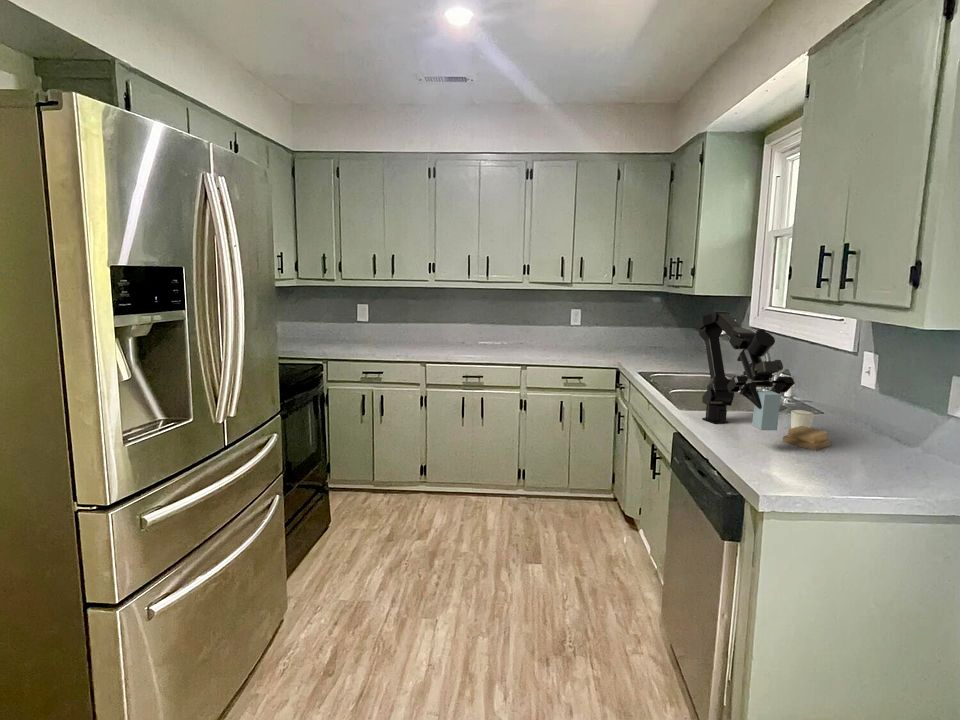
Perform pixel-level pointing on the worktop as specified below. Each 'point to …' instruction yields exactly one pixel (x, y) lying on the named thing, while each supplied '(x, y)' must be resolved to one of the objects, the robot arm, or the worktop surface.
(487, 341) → the worktop surface
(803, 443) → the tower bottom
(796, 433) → the tower top
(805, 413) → the shot glass
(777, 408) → the tall block
